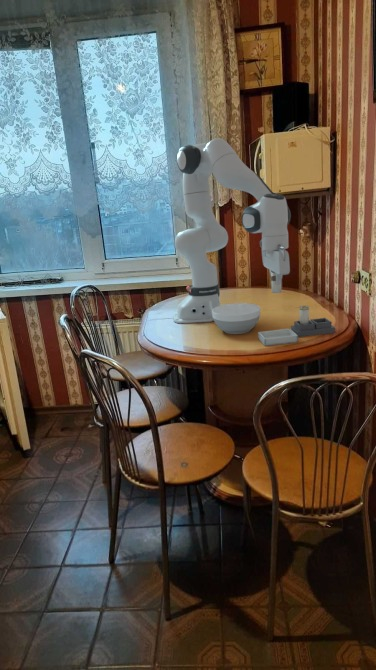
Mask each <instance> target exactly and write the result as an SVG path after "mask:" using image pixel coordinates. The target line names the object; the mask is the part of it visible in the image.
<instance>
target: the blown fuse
mask: <svg viewBox="0 0 376 670" xmlns="http://www.w3.org/2000/svg"><path fill="white" fill-rule="evenodd" d="M275 280H276V274H275V272H273V271H272V270H271V275H270V281H271V282H270V283H271V293H272V294H281V293H282V284H281V285H276V284H275Z"/></svg>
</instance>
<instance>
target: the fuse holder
mask: <svg viewBox="0 0 376 670" xmlns="http://www.w3.org/2000/svg"><path fill="white" fill-rule="evenodd" d="M332 323H333V322H332V321H331V320H330V319H328V318H326V317H321V318H312V319H311V318H310V319H309V324H304V325H300V320H296V321H293V325H291V326H290V329H291V330H292V331H293V332H294V333H296V334H297V335H298V338H300V337H309V336H310V337H312V336H318V335H320V336H321V335H328V334H335V333H336V327H335V326H333V325H332Z"/></svg>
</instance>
